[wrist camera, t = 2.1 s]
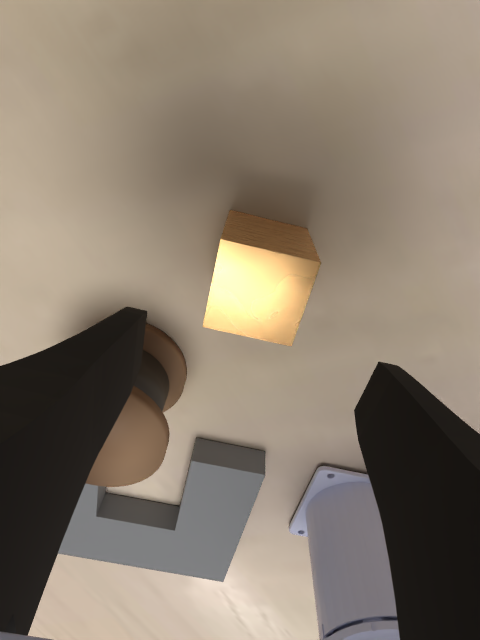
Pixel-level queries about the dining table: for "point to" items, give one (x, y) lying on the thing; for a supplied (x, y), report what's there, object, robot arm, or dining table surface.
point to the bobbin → (143, 416)
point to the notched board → (174, 517)
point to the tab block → (261, 278)
